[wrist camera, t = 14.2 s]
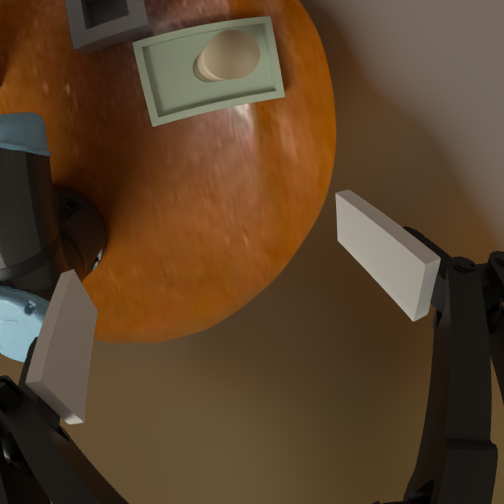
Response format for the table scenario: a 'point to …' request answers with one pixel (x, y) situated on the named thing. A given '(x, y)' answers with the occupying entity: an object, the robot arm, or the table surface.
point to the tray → (191, 88)
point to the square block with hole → (105, 23)
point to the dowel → (227, 57)
